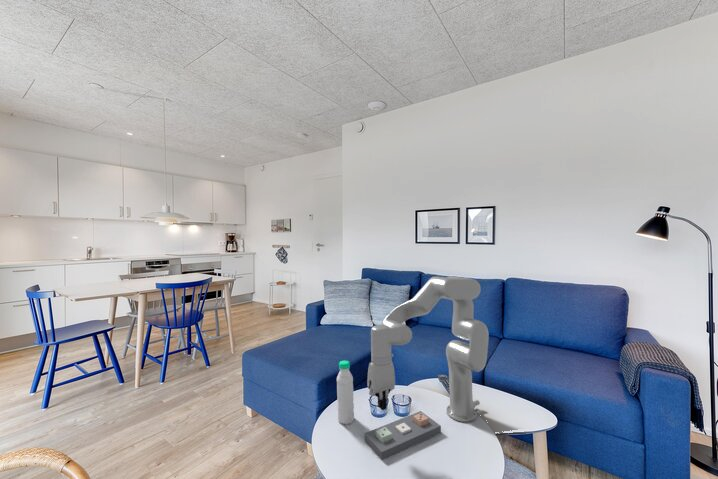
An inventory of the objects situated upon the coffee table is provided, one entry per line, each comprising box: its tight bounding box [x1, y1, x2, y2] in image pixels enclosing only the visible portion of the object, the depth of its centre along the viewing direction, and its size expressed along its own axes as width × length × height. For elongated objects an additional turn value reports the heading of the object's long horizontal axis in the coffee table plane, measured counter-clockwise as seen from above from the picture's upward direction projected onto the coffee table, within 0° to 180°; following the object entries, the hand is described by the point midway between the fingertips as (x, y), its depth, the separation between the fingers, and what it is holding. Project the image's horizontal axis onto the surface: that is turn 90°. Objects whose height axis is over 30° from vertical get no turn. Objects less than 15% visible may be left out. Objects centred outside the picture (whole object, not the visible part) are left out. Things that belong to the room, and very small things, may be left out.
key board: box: [364, 410, 442, 461], centre depth 117 cm, size 28×12×3 cm, turn 119°
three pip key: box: [413, 413, 430, 427], centre depth 122 cm, size 4×4×4 cm
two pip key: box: [376, 427, 392, 444], centre depth 113 cm, size 4×4×4 cm
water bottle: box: [336, 360, 355, 425], centre depth 130 cm, size 7×7×25 cm
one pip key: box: [395, 423, 411, 435], centre depth 117 cm, size 4×4×4 cm
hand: (382, 407), depth 113 cm, fingers closed
